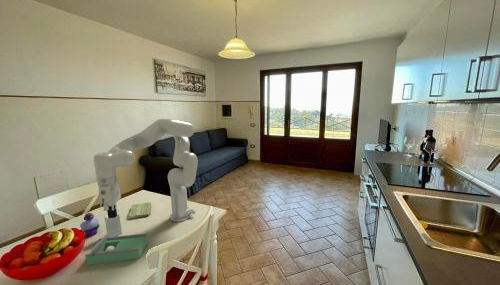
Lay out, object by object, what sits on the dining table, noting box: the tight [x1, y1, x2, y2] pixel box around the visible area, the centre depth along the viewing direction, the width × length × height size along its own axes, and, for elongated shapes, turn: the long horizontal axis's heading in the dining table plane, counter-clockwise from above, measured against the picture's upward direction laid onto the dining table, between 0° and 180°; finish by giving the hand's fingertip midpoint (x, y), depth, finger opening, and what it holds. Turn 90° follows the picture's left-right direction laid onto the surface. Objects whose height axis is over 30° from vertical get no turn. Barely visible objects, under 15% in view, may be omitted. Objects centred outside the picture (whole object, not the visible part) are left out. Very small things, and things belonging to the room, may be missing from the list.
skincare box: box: [104, 211, 123, 237], centre depth 113 cm, size 6×4×12 cm
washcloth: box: [127, 201, 152, 220], centre depth 138 cm, size 13×18×3 cm
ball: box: [105, 246, 115, 251], centre depth 98 cm, size 4×4×4 cm
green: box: [84, 232, 149, 266], centre depth 99 cm, size 22×12×6 cm, turn 100°
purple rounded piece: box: [79, 212, 100, 238], centre depth 114 cm, size 9×9×12 cm
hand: (112, 217), depth 97 cm, fingers closed
